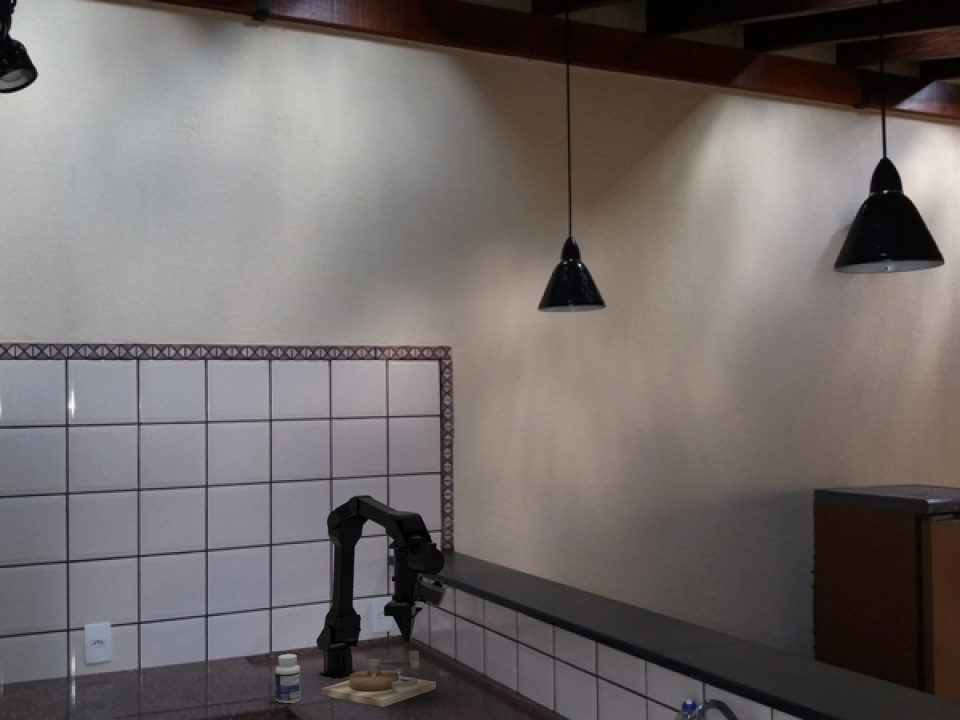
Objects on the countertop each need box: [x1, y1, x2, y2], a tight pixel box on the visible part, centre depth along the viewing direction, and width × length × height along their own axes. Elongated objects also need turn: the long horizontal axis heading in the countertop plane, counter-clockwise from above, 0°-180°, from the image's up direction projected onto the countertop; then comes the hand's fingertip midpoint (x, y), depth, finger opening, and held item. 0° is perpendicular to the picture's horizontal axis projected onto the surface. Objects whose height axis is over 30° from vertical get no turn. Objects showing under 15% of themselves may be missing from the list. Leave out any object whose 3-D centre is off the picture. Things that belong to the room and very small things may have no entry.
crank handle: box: [349, 650, 420, 690], centre depth 238 cm, size 11×16×7 cm
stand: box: [321, 675, 437, 708], centre depth 238 cm, size 18×18×4 cm
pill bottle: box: [274, 653, 301, 704], centre depth 232 cm, size 5×5×10 cm
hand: (407, 642), depth 233 cm, fingers closed
